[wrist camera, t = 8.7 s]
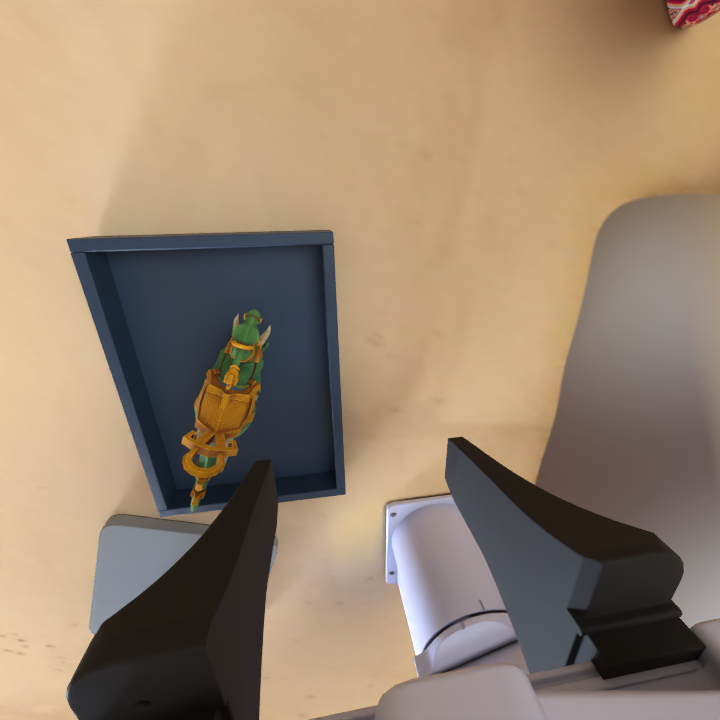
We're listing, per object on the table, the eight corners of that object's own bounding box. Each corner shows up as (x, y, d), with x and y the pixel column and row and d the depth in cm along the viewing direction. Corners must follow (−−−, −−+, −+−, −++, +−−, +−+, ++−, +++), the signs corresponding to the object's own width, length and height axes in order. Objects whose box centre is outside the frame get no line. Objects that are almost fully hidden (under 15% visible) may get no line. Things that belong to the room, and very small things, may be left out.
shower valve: (47, 731, 24) (56, 588, 19) (92, 642, 29) (107, 512, 24) (228, 727, 27) (275, 604, 22) (240, 648, 32) (280, 533, 27)
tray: (342, 472, 26) (345, 494, 24) (172, 491, 24) (160, 517, 22) (330, 230, 19) (333, 231, 17) (93, 236, 18) (65, 239, 16)
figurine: (292, 300, 20) (283, 350, 12) (236, 461, 24) (204, 574, 16) (238, 280, 19) (194, 322, 12) (190, 450, 23) (132, 565, 15)
